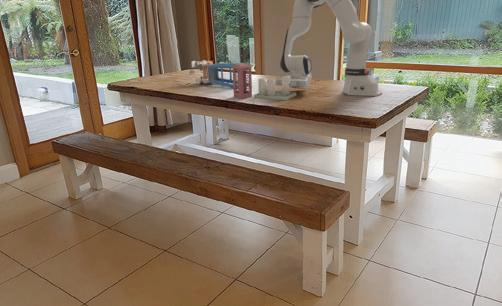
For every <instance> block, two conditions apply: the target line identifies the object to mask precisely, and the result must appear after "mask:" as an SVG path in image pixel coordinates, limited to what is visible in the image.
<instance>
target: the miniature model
mask: <svg viewBox="0 0 502 306" xmlns="http://www.w3.org/2000/svg"><path fill="white" fill-rule="evenodd" d="M239 63H240V64H235V65H233V66H232V67H231V68H233V69H232V80H233V88H232V89H233V97H234V98H237V99H239V100H243V99H249V98H253V84H252V68H253V66H252V65H248V64H244V63H245V62H239ZM237 82H238V84H237ZM248 83H249V85H247V84H248ZM237 87H238V89H236V88H237Z"/></svg>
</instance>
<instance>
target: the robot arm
mask: <svg viewBox="0 0 502 306" xmlns="http://www.w3.org/2000/svg"><path fill="white" fill-rule="evenodd" d="M293 3H294V4H293V9H292V20H291V21H292V22H291V23H290V27H288V28H287V30H286V34H285V38H284V43H283V50H282V56H281V59H280V63H279V66H280V69H281V70H282V71H283V72H284V73H285V74H286V73H291V74H290V75H289V76H290V83H289V86H290V88H292V89H299V88H309V87H310V82H311V80H312V76H313V75H312V72H311V71H312V61H311V59H310V57H309V56H308V55H305V54H304V55H292V50H293V44H294V41H295V40H296V39H297V38H298V37H300V36H302V35H304V34H306V33H307V32H308V31H309V30H310V28H311V26H312V12H313V9H317V8H318V7H322V6H323V5H325V4H327V6H329V8H330V10H331V11H332V13H333V15H334V16H335V18H336V20H337V22H338V24H339V26H340V30H341V33H342V38H343V40H344V41H345V43H348V44H349V46H348V50H347V53H346V61H345V64H346V65H345V67H344V69H345V70H344V84H343V87H342V88H343V89H342V91H341V92H342V94H347V96H364V97H365V96H366V97H367V96H369V97H376V96H380V95H382V94H383V90H382V89H379V84H378V81H377V80H376V79H375V78H373V77H372V76H371V75H370V69H369V68H367V56H368V49H369V45H370V41H371V40H370V39H371V36H372V34H373V29H372V27H371V25H370V24H369V23H366V22H364V21H360V19H359V17H358V14H357V10H356V7H355V6H354V4H353V2H352V0H295V1H294V2H293ZM274 79H275V86H279V87H280V86H281V87H282V77H277V78H274Z"/></svg>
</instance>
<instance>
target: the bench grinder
mask: <svg viewBox="0 0 502 306" xmlns="http://www.w3.org/2000/svg"><path fill="white" fill-rule="evenodd" d="M240 63H241V62H228V63H227V62H226V63H213V61H212V60H205V59H203V60H200V61H199V60H198V61H196V60H192V61H191V68H196V67H197V66H199V68H200V69H199V70H197V72H202V75H203V76H202V75H201V76H200V77H199V78H198V77H196V78H195V82H196V83H195V84H196V85H200V84H204V85H207V84H214V85H218V86H223V87H226V88H227V87H228V88H232V89H233V71H232V70H233V68H231V67H232V66H233V65H235V64H240ZM243 63H244V64H248V65H250V62H243ZM250 66H251V65H250ZM219 69H220V73H221V75H220V76H221V78H220V77H219ZM224 69H229V79H227V78H224ZM195 72H196V70H194V69H190V70H189V71H188V73H189V75H194V74H195ZM247 83H248V84H247V85H249V82H247ZM237 85H238V82H237ZM236 90H238V87H237V88H236Z"/></svg>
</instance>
